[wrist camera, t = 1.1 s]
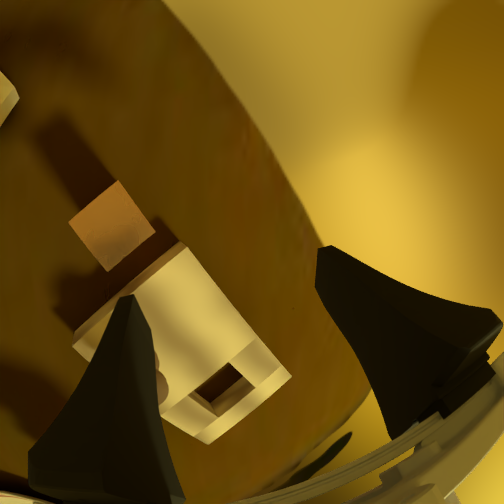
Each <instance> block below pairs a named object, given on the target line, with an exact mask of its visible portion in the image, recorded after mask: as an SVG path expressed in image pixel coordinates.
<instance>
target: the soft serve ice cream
mask: <svg viewBox="0 0 504 504" xmlns="http://www.w3.org/2000/svg"><path fill="white" fill-rule="evenodd" d="M18 100H19V96H18V94H17V91H16V89H15V87H14V86H13V85H12V83H11V82H10V81H9V80H8V79H7V78H6V77H5V76H4V75H3V74H2V72H1V71H0V126H1V125H2V123H3V122H4V120H5V119H6V117H7V116H8V114H9V113H10V111H11V110H12V108H13V107H14V106H15V104H16V103H17V101H18Z"/></svg>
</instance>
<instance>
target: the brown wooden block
mask: <svg viewBox="0 0 504 504" xmlns="http://www.w3.org/2000/svg"><path fill="white" fill-rule="evenodd" d="M68 223H69V224H70V225H71V227H72V228H73V229H74V231H75V232H76V233H77V235H78V236H79V237H80V239H81V240H82V241H83V243H84V244H85V245H86V246H87V248H88V249H89V250H90V251H91V253H92V254H93V255H94V256H95V258H96V259H97V260H98V261H99V263H100V264H101V265H102V266H103V267H104V269H105V270H106V271H107V272H108V271H110V270H111V269H112V268H113V267H114V266H115V265H116V264H118V263H119V262H120V261H121V260H122V259H123V258H125V257H126V256H127V255H128V254H129V253H130V252H132V251H133V250H134V249H135V248H136V247H138V246H139V245H140V244H141V243H142V242H144V241H145V240H146V239H147V238H149V237H150V236H151V235H152V234H153V233H155V230H154V229H153V228H152V226H151V225H150V224H149V222H148V221H147V219H146V218H145V217H144V215H143V214H142V213H141V211H140V210H139V209H138V207H137V206H136V204H135V203H134V202H133V200H132V199H131V197H130V196H129V195H128V193H127V192H126V190H125V189H124V188H123V186H122V185H121V183H120V182H119V180H118V181H117V182H115V183H114V184H113V185H112V186H110V187H109V188H108V189H107V190H105V191H104V192H103V193H102V194H100V195H99V196H98V197H97V198H96V199H94V200H93V201H92V202H91V203H90V204H88V205H87V206H86V207H85V208H84V209H83V210H82V211H80V212H79V213H78V214H77V215H76V216H75V217H74V218H73V219H71V220H70V221H69V222H68Z"/></svg>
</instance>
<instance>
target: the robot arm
mask: <svg viewBox="0 0 504 504" xmlns="http://www.w3.org/2000/svg"><path fill="white" fill-rule="evenodd" d="M315 288H316V290H317V293H318V295H319V297H320V299H321V301H322V303H323V305H324V306H325V308H326V310H327V311H328V313H329V314H330V316H331V317H332V319H333V320H334V322H335V323H336V325H337V326H338V328H339V329H340V331H341V332H342V334H343V335H344V337H345V338H346V339H347V341H348V342H349V344H350V345H351V347H352V349H353V350H354V352H355V354H356V356H357V357H358V359H359V361H360V363H361V365H362V367H363V370H364V372H365V374H366V376H367V378H368V380H369V382H370V385H371V387H372V389H373V392H374V394H375V397H376V399H377V402H378V404H379V407H380V410H381V413H382V415H383V418H384V421H385V424H386V428H387V431H388V434H389V436H390V438H391V439H392V441H391V442H389V443H387V444H386V445H384V446H382V447H381V448H378V449H376V450H375V451H373V452H371V453H369V454H367V455H365V456H363V457H361V458H359V459H357V460H355V461H353V462H351V463H349V464H346V465H344V466H342V467H340V468H337V469H335V470H333V471H331V472H328V473H326V474H324V475H321V476H318V477H316V478H313V479H311V480H308V481H305V482H302V483H300V484H297V485H294V486H291V487H288V488H285V489H282V490H278V491H275V492H272V493H268V494H265V495H262V496H258V497H253V498H250V499H245V500H241V501H237V502H232V503H227V504H297V503H300V502H303V501H305V500H308V499H311V498H314V497H316V496H319V495H321V494H324V493H326V492H329V491H331V490H333V489H335V488H338V487H340V486H343V485H345V484H347V483H349V482H351V481H353V480H355V479H357V478H359V477H361V476H363V475H365V474H367V473H369V472H371V471H373V470H375V469H377V468H379V467H380V466H382V465H384V464H386V463H387V462H389V461H391V460H393V459H394V458H396V457H398V456H400V455H401V454H403V453H404V452H406V451H407V450H409V449H411V448H412V447H414V446H415V445H416V446H415V448H414V453H413V454H412V455H411V456H409V457H408V458H406V459H404V460H403V461H401V462H400V463H398V464H396V465H395V466H393V467H391V468H389V469H388V470H386V471H384V472H382V473H381V474H380V475H379V477H380V479H381V481H382V483H383V484H381V485H379V486H377V487H375V488H374V489H372V490H370V491H368V492H366V493H364V494H362V495H359V496H358V497H355V498H353V499H351V500H349V501H347V502H344V503H342V504H461V503H460V501H459V499H458V497H457V496H456V494H455V492H454V490H455V489H456V488H457V487H458V486H459V485H460V484H461V483H462V482H463V481H464V480H465V478H466V477H467V476H468V475H469V474H470V473H471V472H472V471H473V470H474V469H475V468H476V466H477V465H478V464H479V463H480V462H481V461H482V459H483V458H484V457H485V456H486V455H487V453H488V452H489V451H490V450H491V448H492V447H493V446H494V445H495V444H496V442H497V441H498V440H499V438H500V437H501V436H502V434H503V433H504V352H503V353H502V354H501V355H500V356H499V357H498V358H497V359H496V360H495V361H494V362H493V363H492V364H491V365H490V364H489V363H488V362H487V360H489V358H490V357H489V355H488V354H487V352H486V351H487V349H488V348H489V347H490V345H491V344H492V343H493V341H494V340H495V339H496V337H497V336H498V334H499V333H500V331H501V329H502V327H503V322H502V321H501V320H500V319H499V318H498V317H497V315H496V314H495V313H494V312H493V311H492V310H491V309H488V308H481V307H475V306H469V305H465V304H460V303H456V302H452V301H449V300H445V299H442V298H439V297H436V296H433V295H430V294H427V293H424V292H421V291H419V290H417V289H414V288H412V287H410V286H407V285H405V284H403V283H400V282H398V281H396V280H394V279H392V278H390V277H388V276H386V275H385V274H383V273H380V272H379V271H377V270H375V269H373V268H372V267H370V266H368V265H366V264H364V263H363V262H361V261H359V260H357V259H355V258H354V257H352V256H350V255H348V254H347V253H345V252H343V251H341V250H339V249H338V248H336V247H334V246H332V245H330V246H326V247H322V248H318V253H317V266H316V278H315ZM28 483H29V486H30V487H31V488H32V489H33V490H35V491H37V492H39V493H42V494H45V495H48V496H51V497H53V498H57V499H60V500H63V504H183V503H184V502H185V500H186V498H185V496H184V493H183V491H182V488H181V486H180V483H179V480H178V478H177V475H176V472H175V469H174V466H173V463H172V460H171V456H170V453H169V450H168V446H167V442H166V438H165V435H164V430H163V426H162V422H161V417H160V412H159V405H158V394H157V381H156V364H155V351H154V344H153V338H152V332H151V328H150V326H149V324H148V322H147V320H146V318H145V316H144V314H143V312H142V310H141V308H140V306H139V303H138V301H137V299H136V297H135V295H134V294H131V295H127V296H123V297H119V299H118V301H117V303H116V305H115V307H114V310H113V312H112V315H111V317H110V319H109V322H108V324H107V326H106V329H105V331H104V333H103V335H102V338H101V340H100V342H99V344H98V347H97V349H96V351H95V353H94V355H93V357H92V359H91V361H90V363H89V365H88V367H87V369H86V371H85V373H84V375H83V377H82V379H81V380H80V382H79V384H78V386H77V388H76V389H75V391H74V392H73V394H72V395H71V397H70V399H69V400H68V402H67V403H66V405H65V406H64V408H63V409H62V411H61V412H60V414H59V415H58V416H57V418H56V419H55V420H54V422H53V423H52V424H51V426H50V427H49V428H48V430H47V431H46V432H45V433H44V434H43V436H42V437H41V438H40V439H39V440H38V441H37V442H36V443H35V445H34V446H33V447H32V448H31V449H30V450H29V451H28ZM33 504H46V503H41V502H36V501H34V502H33Z"/></svg>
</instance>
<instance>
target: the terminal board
mask: <svg viewBox="0 0 504 504" xmlns="http://www.w3.org/2000/svg"><path fill="white" fill-rule="evenodd" d="M131 294H134V295H135V297H136V299H137V301H138V303H139V306H140V308H141V310H142V312H143V314H144V316H145V318H146V320H147V322H148V324H149V326H150V328H151V332H152V338H153V344H154V351H155V364H156V381H157V394H158V405H159V412H160V416H161V417H162V418H164V419H166V420H167V421H169V422H170V423H172V424H173V425H175V426H177V427H178V428H180V429H182V430H183V431H185V432H187V433H188V434H190V435H192V436H193V437H195V438H197V439H199V440H201V441H202V442H204V443H206V444H210V443H211V442H212V441H214V440H215V439H217V438H218V437H219V436H221V435H222V434H223V433H225V432H226V431H227V430H229V429H230V428H231V427H232V426H234V425H235V424H236V423H238V422H239V421H240V420H241V419H243V418H244V417H245V416H246V415H248V414H249V413H250V412H251V411H253V410H254V409H255V408H256V407H257V406H259V405H260V404H261V403H262V402H263V401H265V400H266V399H267V398H268V397H269V396H270V395H272V394H273V393H274V392H275V391H276V390H277V389H279V388H280V387H281V386H282V385H283V384H284V383H285V382H286V381H288V380H289V379H290V378H291V377H292V376H291V375H290V374H289V373H288V371H287V370H286V369H285V368H284V367H283V366H282V364H281V363H280V362H279V361H278V360H277V359H276V357H275V356H274V355H273V354H272V353H271V352H270V350H269V349H268V348H267V347H266V346H265V344H264V343H263V342H262V341H261V340H260V338H259V337H258V336H257V335H256V334H255V332H254V331H253V330H252V329H251V327H250V326H249V325H248V324H247V323H246V321H245V320H244V319H243V318H242V316H241V315H240V314H239V313H238V312H237V310H236V309H235V308H234V307H233V305H232V304H231V303H230V302H229V300H228V299H227V298H226V297H225V295H224V294H223V293H222V291H221V290H220V289H219V288H218V286H217V285H216V284H215V283H214V281H213V280H212V279H211V277H210V276H209V275H208V274H207V272H206V271H205V270H204V268H203V267H202V266H201V264H200V263H199V262H198V260H197V259H196V258H195V257H194V255H193V254H192V253H191V251H190V250H189V249H188V247H187V246H185V245H184V244H183V243H182V242H180V241H179V242H178V243H176V244H175V245H174V246H173V247H171V248H170V249H169V250H168V251H166V252H165V253H164V254H163V255H162V256H160V257H159V258H158V259H157V260H156V261H154V262H153V263H152V264H151V265H150V266H148V267H147V268H146V269H145V270H144V271H142V272H141V273H140V274H139V275H138V276H136V277H135V278H134V279H133V280H132V281H131V282H129V283H128V284H127V285H126V286H125V287H124V288H123V289H121V290H120V291H119V292H118V293H117V294H116V295H114V296H113V297H112V298H111V299H110V300H109V301H108V302H107V303H105V304H104V305H103V306H102V307H101V308H100V309H99V310H98V311H96V312H95V313H94V314H93V315H92V316H91V317H90V318H89V319H88V320H87V321H85V322H84V323H83V324H82V325H81V326H80V327H79V328H78V329H77V330H76V331H75V332H74V337H73V343H72V347H73V348H74V349H75V350H76V351H77V352H79V353H80V354H81V355H82V356H83V357H84V358H85V359H86V360H87V361H89V362H90V361H91V359H92V357H93V355H94V353H95V351H96V349H97V347H98V344H99V342H100V340H101V338H102V335H103V333H104V331H105V329H106V326H107V324H108V322H109V319H110V317H111V315H112V312H113V310H114V307H115V305H116V303H117V301H118V299H119V297H123V296H127V295H131ZM227 362H229V363H230V364H231V365H232V366H233V367H234V368H235V369H236V370H238V371H239V372H240V373H241V374H242V375H243V377H242V378H240V379H239V380H238V381H237V382H236V383H234V384H233V385H232V386H231V387H230V388H228V389H227V390H226V391H225V392H223V393H222V394H221V395H220V396H218V397H217V398H216V399H215V400H213V401H212V402H211V403H209V402H208V401H206V400H205V399H204V398H202V397H201V396H200V395H199V394H197V393H196V392H195V391H193V390H194V389H196V388H197V387H198V386H199V385H201V384H202V383H203V382H204V381H206V380H207V379H208V378H209V377H210V376H212V375H213V374H214V373H215V372H217V371H218V370H219V369H220V368H221V367H223V366H224V365H225V364H226V363H227Z"/></svg>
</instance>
